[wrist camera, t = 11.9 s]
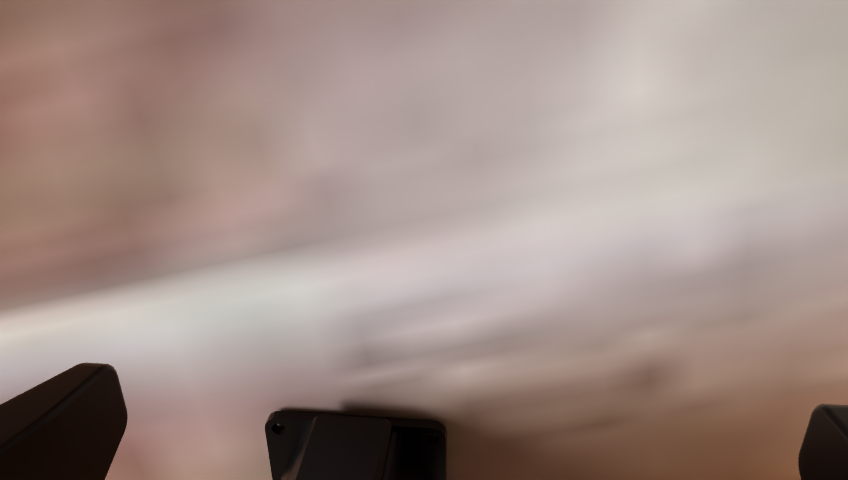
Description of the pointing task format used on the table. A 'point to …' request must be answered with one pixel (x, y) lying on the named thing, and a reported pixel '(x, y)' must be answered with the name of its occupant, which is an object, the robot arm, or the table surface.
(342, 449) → the robot arm
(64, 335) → the table surface
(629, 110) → the table surface
